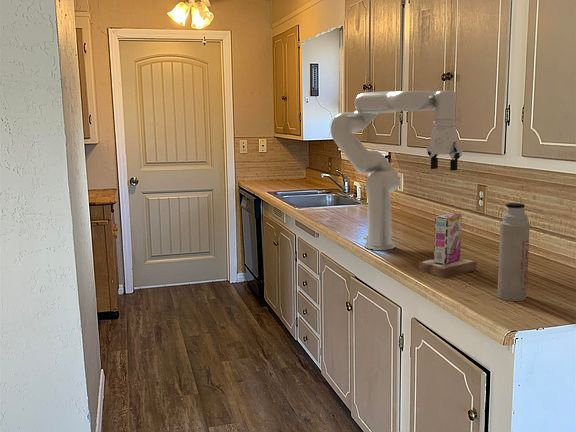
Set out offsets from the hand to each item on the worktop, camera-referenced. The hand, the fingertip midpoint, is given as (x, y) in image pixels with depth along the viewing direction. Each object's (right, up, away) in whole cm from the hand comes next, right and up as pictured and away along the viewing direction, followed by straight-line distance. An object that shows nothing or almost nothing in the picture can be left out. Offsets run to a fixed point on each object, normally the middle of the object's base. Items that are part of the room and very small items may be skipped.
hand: (443, 169), depth 217 cm
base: (-3, -37, -17) cm, 41 cm away
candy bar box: (-4, -34, -17) cm, 38 cm away
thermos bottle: (+7, -42, -48) cm, 64 cm away
